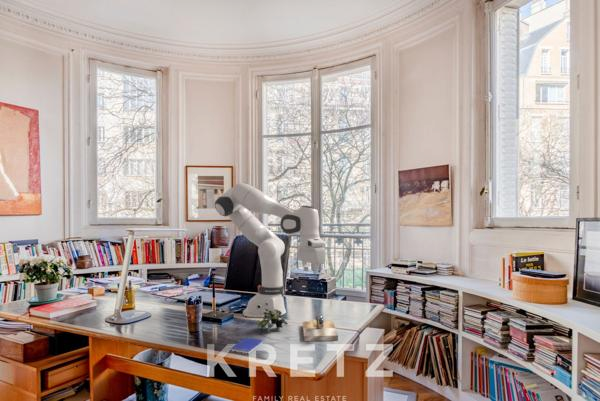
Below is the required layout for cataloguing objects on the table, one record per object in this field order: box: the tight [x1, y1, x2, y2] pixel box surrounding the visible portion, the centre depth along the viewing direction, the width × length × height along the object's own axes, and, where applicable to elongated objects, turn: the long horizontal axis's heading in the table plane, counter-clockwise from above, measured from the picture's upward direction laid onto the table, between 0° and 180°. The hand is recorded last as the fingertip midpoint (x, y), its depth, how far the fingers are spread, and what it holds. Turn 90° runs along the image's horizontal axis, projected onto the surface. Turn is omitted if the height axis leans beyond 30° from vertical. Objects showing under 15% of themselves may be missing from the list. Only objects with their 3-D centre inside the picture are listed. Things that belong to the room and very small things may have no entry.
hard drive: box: [229, 337, 264, 354], centre depth 150 cm, size 2×8×12 cm
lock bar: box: [315, 314, 324, 328], centre depth 161 cm, size 13×3×3 cm, turn 2°
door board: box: [302, 319, 339, 342], centre depth 166 cm, size 14×21×6 cm, turn 2°
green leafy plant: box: [255, 309, 289, 334], centre depth 169 cm, size 11×11×12 cm
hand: (310, 272), depth 170 cm, fingers open, 8 cm apart
